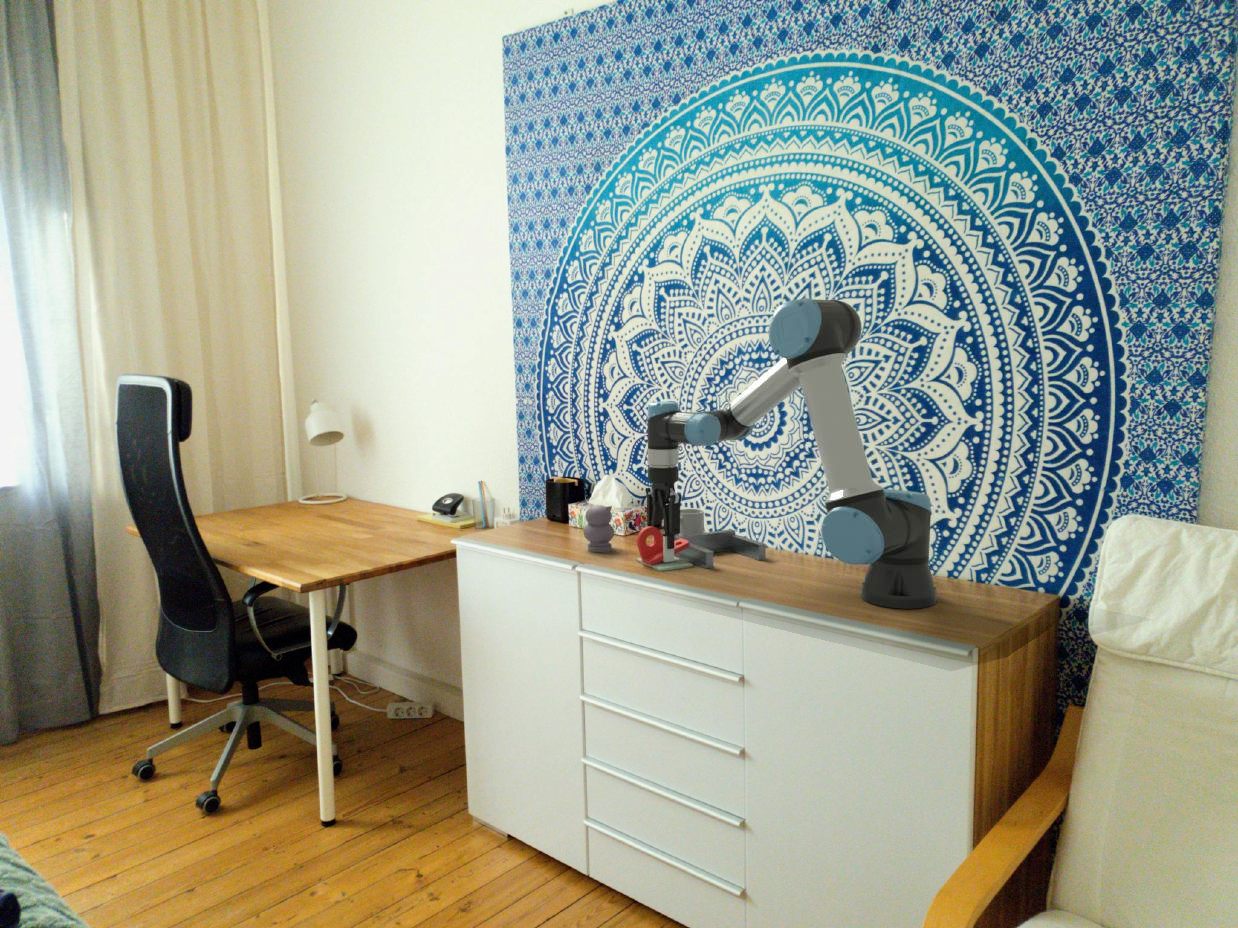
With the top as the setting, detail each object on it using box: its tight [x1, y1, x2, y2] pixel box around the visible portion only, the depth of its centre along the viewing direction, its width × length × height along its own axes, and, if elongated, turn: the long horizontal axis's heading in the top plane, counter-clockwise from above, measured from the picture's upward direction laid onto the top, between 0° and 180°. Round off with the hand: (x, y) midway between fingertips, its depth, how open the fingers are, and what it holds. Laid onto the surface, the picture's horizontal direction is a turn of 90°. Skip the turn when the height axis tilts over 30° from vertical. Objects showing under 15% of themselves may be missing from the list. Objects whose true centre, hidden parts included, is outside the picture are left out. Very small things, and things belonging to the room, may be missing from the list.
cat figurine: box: [583, 503, 615, 553], centre depth 233 cm, size 8×8×12 cm
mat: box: [636, 556, 694, 572], centre depth 217 cm, size 12×9×1 cm
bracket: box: [636, 526, 690, 566], centre depth 216 cm, size 12×4×8 cm, turn 117°
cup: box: [675, 508, 705, 537], centre depth 237 cm, size 7×10×9 cm
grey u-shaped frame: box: [674, 528, 767, 569], centre depth 224 cm, size 20×18×5 cm
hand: (663, 558), depth 217 cm, fingers closed on bracket, 4 cm apart
